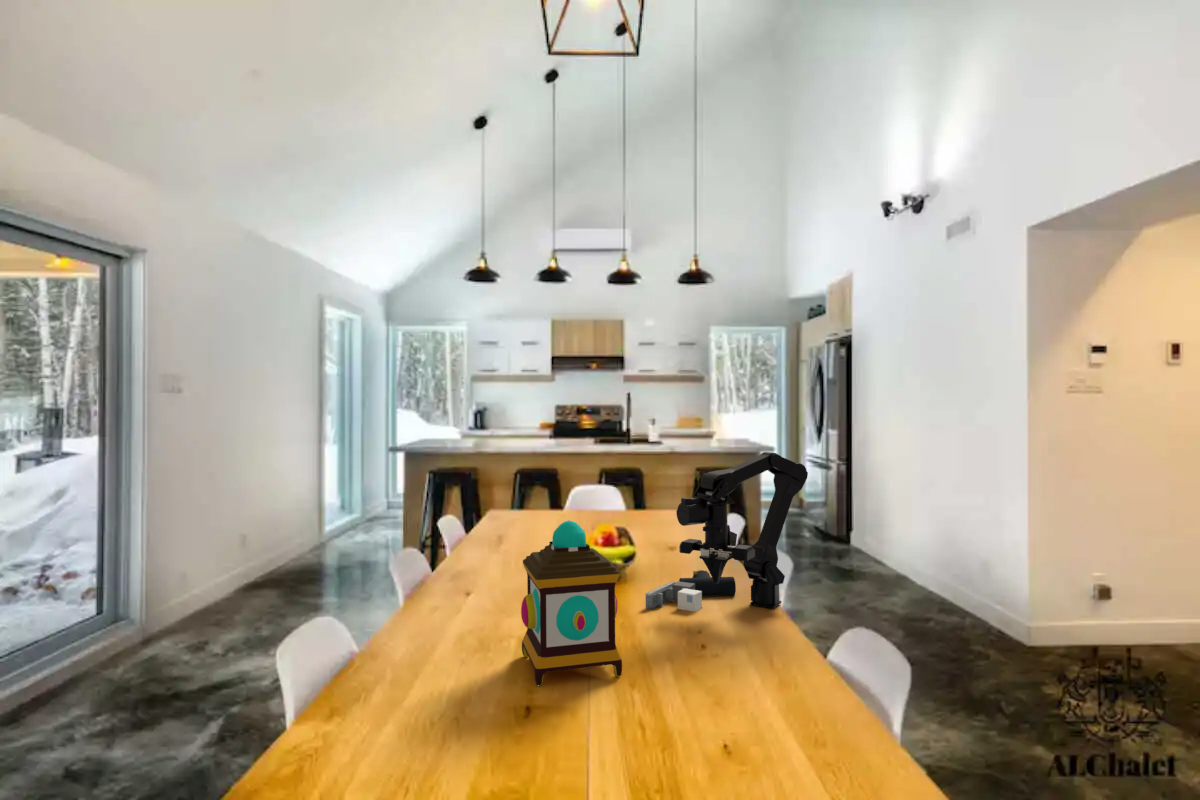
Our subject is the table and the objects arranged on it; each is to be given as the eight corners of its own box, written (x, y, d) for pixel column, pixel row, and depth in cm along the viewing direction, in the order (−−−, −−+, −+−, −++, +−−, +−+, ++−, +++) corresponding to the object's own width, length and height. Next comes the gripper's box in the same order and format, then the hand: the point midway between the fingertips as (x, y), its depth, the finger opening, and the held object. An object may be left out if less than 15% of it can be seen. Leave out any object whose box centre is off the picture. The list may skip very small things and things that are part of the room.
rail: (680, 597, 191) (680, 583, 191) (655, 610, 180) (655, 594, 180) (671, 595, 193) (671, 581, 193) (645, 608, 181) (645, 593, 181)
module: (701, 608, 182) (701, 591, 182) (694, 612, 178) (694, 594, 178) (684, 605, 184) (684, 588, 184) (677, 609, 181) (677, 591, 181)
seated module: (695, 599, 189) (695, 583, 189) (690, 603, 186) (690, 587, 186) (678, 597, 191) (678, 581, 191) (672, 601, 188) (672, 584, 188)
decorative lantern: (530, 691, 130) (528, 532, 130) (514, 654, 149) (513, 515, 149) (631, 679, 135) (630, 526, 135) (603, 645, 154) (602, 510, 154)
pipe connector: (674, 569, 202) (725, 568, 203) (674, 587, 202) (725, 586, 203) (682, 580, 191) (735, 578, 192) (682, 599, 191) (735, 597, 192)
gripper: (762, 520, 178) (763, 581, 178) (697, 514, 189) (697, 571, 189) (745, 527, 169) (746, 591, 169) (678, 520, 180) (678, 580, 180)
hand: (716, 583), depth 177 cm, fingers closed
